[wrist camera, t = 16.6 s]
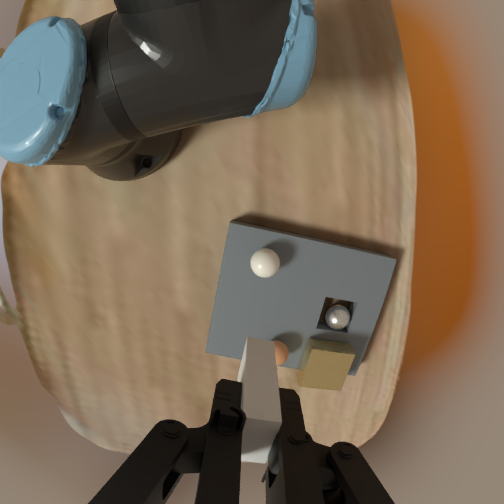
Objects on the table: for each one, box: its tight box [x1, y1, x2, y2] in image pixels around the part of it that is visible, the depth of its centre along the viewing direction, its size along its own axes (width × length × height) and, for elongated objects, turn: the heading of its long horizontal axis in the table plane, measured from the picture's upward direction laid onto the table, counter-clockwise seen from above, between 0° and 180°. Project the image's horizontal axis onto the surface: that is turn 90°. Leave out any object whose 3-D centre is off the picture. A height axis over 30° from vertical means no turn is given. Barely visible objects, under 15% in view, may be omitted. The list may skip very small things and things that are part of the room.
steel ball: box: [325, 305, 350, 330], centre depth 41 cm, size 3×3×3 cm
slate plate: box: [206, 220, 397, 375], centre depth 41 cm, size 22×18×2 cm
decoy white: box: [250, 248, 280, 278], centre depth 37 cm, size 3×3×3 cm
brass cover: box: [297, 338, 355, 391], centre depth 40 cm, size 6×6×3 cm
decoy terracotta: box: [273, 340, 289, 366], centre depth 39 cm, size 3×3×3 cm
